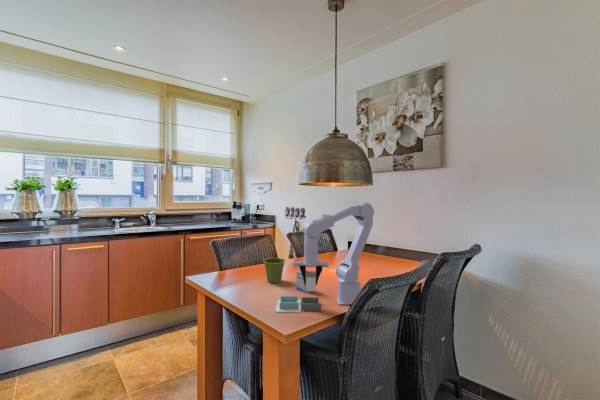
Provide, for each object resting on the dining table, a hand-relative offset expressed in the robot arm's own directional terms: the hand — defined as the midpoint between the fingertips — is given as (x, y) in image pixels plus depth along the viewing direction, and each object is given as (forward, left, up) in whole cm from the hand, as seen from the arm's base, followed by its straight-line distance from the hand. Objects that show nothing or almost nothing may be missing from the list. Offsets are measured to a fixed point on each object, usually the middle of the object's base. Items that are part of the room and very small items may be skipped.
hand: (310, 284), depth 125 cm
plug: (0, 0, -2) cm, 2 cm away
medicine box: (+2, -21, -10) cm, 23 cm away
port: (+9, 0, -9) cm, 13 cm away
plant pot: (+18, -35, -10) cm, 41 cm away
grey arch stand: (0, 0, -9) cm, 9 cm away
